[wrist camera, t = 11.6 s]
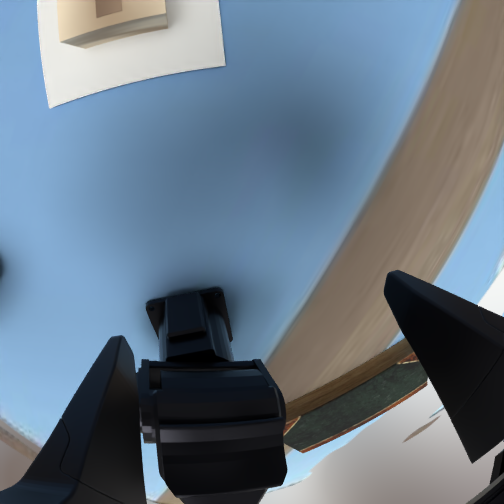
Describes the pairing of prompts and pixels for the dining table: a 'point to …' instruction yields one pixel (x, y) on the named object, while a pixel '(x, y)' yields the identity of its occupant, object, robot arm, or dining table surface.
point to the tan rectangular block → (108, 20)
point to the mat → (130, 51)
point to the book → (354, 398)
